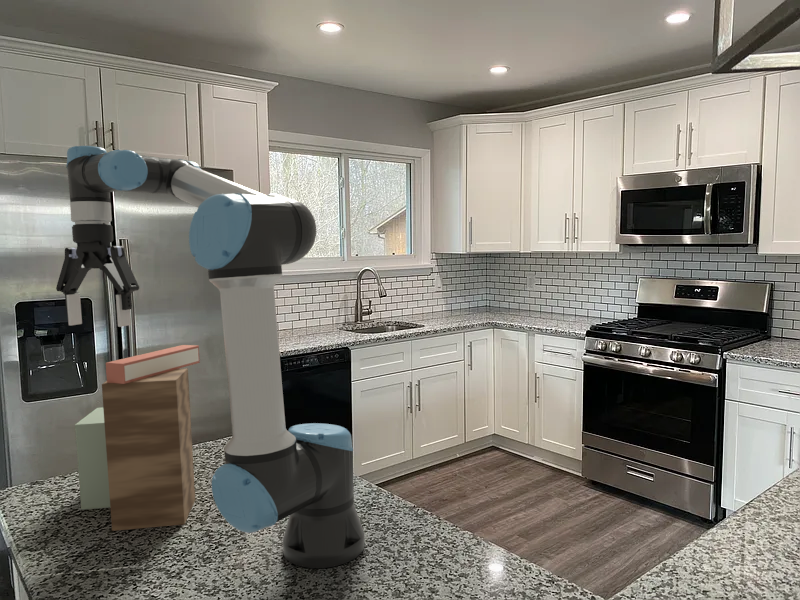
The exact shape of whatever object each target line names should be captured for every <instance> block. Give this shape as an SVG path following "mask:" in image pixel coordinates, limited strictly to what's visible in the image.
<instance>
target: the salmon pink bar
mask: <svg viewBox="0 0 800 600" xmlns="http://www.w3.org/2000/svg"><path fill="white" fill-rule="evenodd" d="M199 347H200V345H196V344H191V345H190V344H182V345H181V344H180V345H177V346H172V347H168V348H164V349H160V350H155V351H151V352H147V353H143V354H138V355H133V356H129V357H126V358H121V359H115V360H111V361H108V362H105V372H106V381H107V383H119V384H126V383H129V382H133V381H136V380H140V379H143V378H147V377H151V376H154V375H158V374H161V373H165V372H168V371H172V370H176V369H184V368H185V367H188V366H193V365H196V364H199V363H201V361H200V360H201V359H200V348H199Z"/></svg>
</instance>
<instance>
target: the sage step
mask: <svg viewBox="0 0 800 600" xmlns="http://www.w3.org/2000/svg"><path fill="white" fill-rule="evenodd" d="M74 430H75V431H74V432H75V444H76V455H77V456H76V458H77V472H78V483H79V484H78V485H79V499H80V510H82V511H83V510H93V509H94V510H95V509H105V508H106V509H107V508H110V495H109V480H108V466H107V452H106V438H105V424H104V410H103V407H96V408H95V409H94V410H93V411H91V412H89V413H88V414H86V416H85V417H83V418H82V419H80V420H79V421H78V422H76V423H75V424H74Z"/></svg>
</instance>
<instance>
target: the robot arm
mask: <svg viewBox="0 0 800 600" xmlns="http://www.w3.org/2000/svg"><path fill="white" fill-rule="evenodd" d="M66 169H67V170H66V171H67V181H68V192H69V193H68V194H69V206H70V207H69V208H70V210H69V211H70V221H71V222H72V223H74V224H72V226H71V230H72V232H71V234H72V235H71V236H72V242H73V243H76V247H66V248H65V249H64V259H63V263H62V266H61V270H60V274H59V277H58V280H57V282H56V291H57V292H61V293H62V294H64V299H65V300H64V301H65V309H66V310H67V321H68V326H76V325H82V324H83V319H82V318H83V317H82V304H81V293H80V291H78V290H79V289H80V286H81V285H82V283H83V281H84V279H85V278H86V277H87V274H88V272H89V271H91V270H92V269H99V270H101V271H102V272H103V273H104V274H105V276H106V277H107V278H108V280H109V281H110V282H111V284H112V285H113V286H114V288H115V289H116V291H117V293H116V294H115V300H116V301H115V302H116V317H117V327H119V328H121V327H126V326H127V327H129V326H131V325H132V321H131V320H132V318H131V317H132V316H131V310H132V308H133V306H132V293H134V292H136V291H139V290H140V286H139V284H138V281H137V279H136V277H135V275H134V272H133V270H132V269H131V266H130V264H129V261H128V260H127V259H128V258H126V254H125V247H124V246H122V245H111V243H112V242H113V241H114V230H113V228H114V227H113V226H112V224H110V223H111V222H112V221H113V220H112V219H113V218H112V216H113V215H112V204H111V202H112V201H111V193H114V192H126V193H127V192H128V193H143V194H144V193H145V194H160V195H169V196H171V197H173V198H175V199H178V200H181V201H183V202H185V203H187V204H190V205H192V206H193V207H195V208H197V210H196V211H195V212H194V214H193V215H192V219H191V221H190V225H189V232H188V244H189V250H190V252H191V255H192V257H195V258H194V261H195V262H196V264H197V265H198V266H201V267H202V268H203V269H206V270H207V273H208V275H207V276H208V281H209V282H210V283H211V284H213V286H214V287H215V288H217V290H218V291H219V296H220V309H221V319H222V331H223V341H224V351H225V352H224V353H225V363H226V365H225V366H226V375H227V386H228V387H227V388H228V396H229V397H228V399H229V406H230V407H229V408H230V409H229V410H230V418H231V433H232V436H231V437H230V439H229V440H228V441H227V443H226V444H225V445H224V447H223V449H224V450H223V451H224V461H225V463H224V464H222V465H221V466H219V467H218V468H217V469H216V470H215V471H214V473H213V476H212V478H211V492H212V497H213V501H214V503H215V506H216V507H217V509H218V511H219V513H220V515H221V516H222V517H223V518H224V519H225V522H227V523H228V524H229V525H230V526H231V527H233V528H234V529H235V530H237V531H240V532H242V533H249V534H250V533H255V532H258V531H261V530H263V529H265V528H271V527H273V526H275V524H277V523H278V522H279V521H282V520H284V519H285V518H286V519H287V518H288V521H287V524H286V527H285V531H284V535H283V538H282V552H283V556H284V558H285V559H286V560H287V561H288V562H289V563H291V564H293V565H295V566H299V567H303V568H307V569H308V568H309V569H326V568H333V567H338V566H341V565H343V564H346V563H349V562H350V561H353V560H354V559H357V558H358V556H360V555H361V553H362V552H364V549H365V541H366V540H365V531H364V528H363V525H362V522H361V519H360V517H359V514H358V512H357V509H356V506H355V497H354V491H355V489H354V486H355V485H354V456H353V455H354V454H353V453H354V452H353V451H354V448H353V443H352V442H353V441H352V434H351V432H350V431H349V430H348V428H345V427H344V426H341V425H337V424H331V423H330V424H329V423H321V422H320V423H318V422H317V423H316V422H313V423H312V422H311V423H302V424H301V423H299V424H295V425H292V426H290V427H289V428H288V430H287V428H286V416H285V404H284V394H283V393H284V392H283V390H284V389H283V384H282V383H283V382H282V381H283V379H282V378H283V377H282V369H281V366H282V365H281V358H280V354H281V353H280V344H279V330H278V321H277V307H276V298H275V296H276V295H275V286H276V284H277V283H278V281H280V279H281V278H282V276H283V270H282V269H283V267H282V265H290V264H292V263H296V262H298V261H300V260H302V259H303V258H304V257H305V256H306V255H308V254H309V252H310V251H311V249H312V248H313V246H314V244H315V241H316V237H317V230H318V229H317V224H316V220H315V217H314V215H313V214H312V212H311V210H310V209H309V208H308V207H307V206H306V205H305V204H304V203H303V202H300V201H299V200H296V199H294V198H290V197H286V196H284V195H282V194H278V193H269V194H264V193H262V192H259V191H257V190H254V189H251V188H249V187H246V186H243V185H242V184H238V183H237V182H233V181H232V180H228V179H226V178H224V177H221V176H218V175H216V174H215V173H214V174H213V173H211V172H209V171H206V170H204V169H202V168H201V167H200V164H198V163H196V162H195V161H190V160H187V159H183V158H168V157H166V158H165V157H157V156H151V155H144V154H138V153H137V152H135V151H134V150H130V149H114V150H110V151H109V152H107V150H106V149H105V148H103V147H100V146H93V145H73V146H71V147H69V148H68V149H67V151H66Z"/></svg>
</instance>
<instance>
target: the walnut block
mask: <svg viewBox="0 0 800 600" xmlns="http://www.w3.org/2000/svg"><path fill="white" fill-rule="evenodd" d="M101 392H102V395H101V396H102V406H103V410H104V424H105V438H106V452H107V466H108V480H109V495H110V507H109V508H110V520H111V522H110V523H111V532H112V531H125V530H136V529H149V528H157V527H168V526H179V525H186V522H187V520H188V517H189V515H190V514H191V511H192V508H193V507H194V505H195V502H196V490H195V471H194V470H195V469H194V454H193V452H194V451H193V450H194V449H193V439H192V438H193V437H192V436H193V434H192V417H191V401H190V385H189V369H188V368H185V367H184V368H179V369H176V370H172V371H168V372H165V373H161V374H158V375H154V376H151V377H147V378H143V379H140V380H136V381H133V382H129V383H126V384H119V383H107V380H106V381H104V382H103V383H102V384H101Z"/></svg>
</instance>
